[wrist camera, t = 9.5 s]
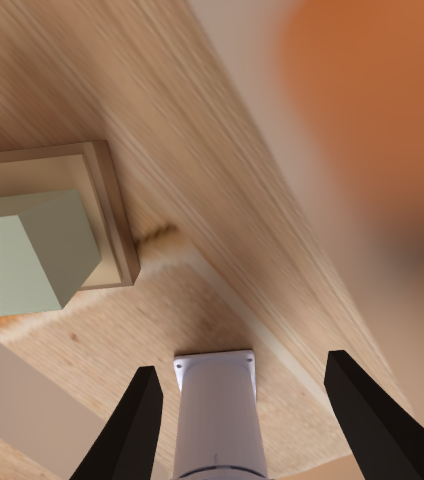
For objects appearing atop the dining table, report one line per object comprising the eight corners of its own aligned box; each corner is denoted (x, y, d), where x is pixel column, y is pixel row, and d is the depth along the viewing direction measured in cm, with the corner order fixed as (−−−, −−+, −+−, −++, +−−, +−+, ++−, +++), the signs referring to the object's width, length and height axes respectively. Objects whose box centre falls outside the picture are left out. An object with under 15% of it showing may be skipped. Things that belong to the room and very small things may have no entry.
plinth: (140, 270, 20) (131, 288, 18) (46, 279, 20) (24, 299, 18) (106, 140, 16) (88, 141, 14) (-13, 153, 16) (-50, 157, 14)
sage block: (102, 260, 17) (62, 309, 12) (31, 268, 17) (-34, 319, 12) (76, 188, 15) (17, 215, 10) (-4, 197, 15) (-98, 228, 10)
